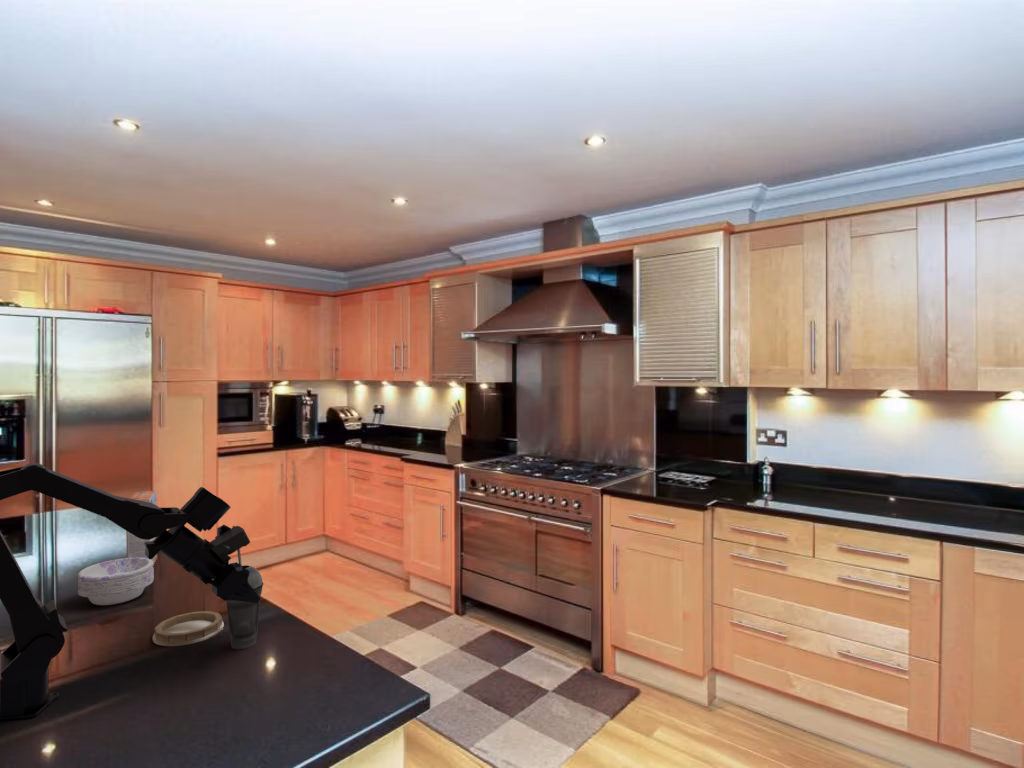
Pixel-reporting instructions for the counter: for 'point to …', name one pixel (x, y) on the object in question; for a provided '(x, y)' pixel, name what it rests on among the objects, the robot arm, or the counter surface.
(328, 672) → the counter surface
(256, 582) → the beverage cup
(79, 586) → the paper bowls
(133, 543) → the white cardboard box
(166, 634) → the ring holder
